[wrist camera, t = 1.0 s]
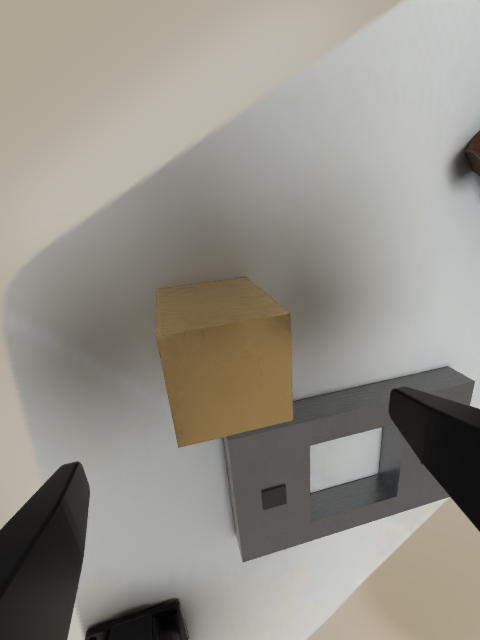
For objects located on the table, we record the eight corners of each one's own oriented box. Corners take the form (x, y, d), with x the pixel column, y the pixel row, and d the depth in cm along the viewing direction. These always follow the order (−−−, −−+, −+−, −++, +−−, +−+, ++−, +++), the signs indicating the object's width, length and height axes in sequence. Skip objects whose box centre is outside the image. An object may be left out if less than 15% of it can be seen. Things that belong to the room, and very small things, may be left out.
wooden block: (252, 354, 18) (293, 420, 13) (171, 369, 17) (178, 447, 12) (246, 276, 16) (289, 313, 11) (157, 289, 16) (156, 336, 10)
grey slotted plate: (429, 475, 26) (451, 497, 24) (235, 533, 23) (243, 564, 21) (448, 366, 22) (476, 382, 20) (220, 417, 19) (227, 442, 17)
